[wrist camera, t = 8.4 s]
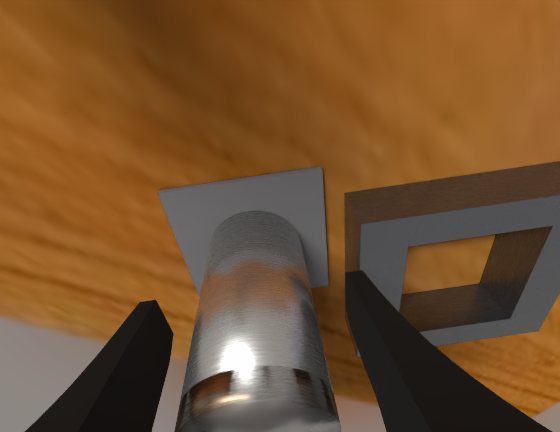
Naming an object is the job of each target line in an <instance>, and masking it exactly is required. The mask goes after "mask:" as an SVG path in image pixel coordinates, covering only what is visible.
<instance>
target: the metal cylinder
mask: <svg viewBox="0 0 560 432" xmlns="http://www.w3.org/2000/svg"><path fill="white" fill-rule="evenodd" d="M175 432H341V426H340V421H339V417H338V413H337V407H336V403H335V398H334V394H333V389H332V384H331V380H330V375H329V371H328V366H327V361H326V357H325V352H324V348H323V343H322V338H321V334H320V329H319V324H318V320H317V315H316V311H315V306H314V301H313V297H312V292H311V288H310V283H309V278H308V274H307V269H306V265H305V260H304V255H303V251H302V246H301V242H300V237H299V235H298V232H297V231H296V229H295V228H294V226H293V225H292V224H291V223H290V222H289V221H288V220H286V219H285V218H283V217H281V216H279V215H277V214H274V213H271V212H267V211H246V212H241V213H238V214H235V215H233V216H231V217H229V218H227V219H226V220H224V221H223V222H222V223H221V224H220V225H219V226H218V227H217V228H216V229H215V231H214V233H213V235H212V237H211V241H210V246H209V251H208V256H207V262H206V267H205V272H204V278H203V283H202V288H201V294H200V299H199V304H198V310H197V315H196V320H195V326H194V331H193V336H192V342H191V347H190V352H189V358H188V363H187V369H186V374H185V380H184V385H183V390H182V395H181V401H180V406H179V411H178V417H177V422H176V427H175Z"/></svg>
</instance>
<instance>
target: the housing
mask: <svg viewBox="0 0 560 432" xmlns="http://www.w3.org/2000/svg"><path fill="white" fill-rule="evenodd" d="M493 234H497V235H496V238H495V241H494V244H493V247H492V250H491V253H490V255H489V258H488V261H487V264H486V267H485V270H484V273H483V276H482V279H481V282H480V284H475V285H468V286H461V287H454V288H447V289H440V290H433V291H426V292H419V293H413V294H406V295H402V288H403V281H404V274H405V267H406V260H407V253H408V247H411V246H417V245H424V244H431V243H438V242H445V241H452V240H459V239H465V238H472V237H479V236H486V235H493ZM358 270H362V271H364V272H365V274H366V275H367V276H368V277H369V279H370V280H371V281H372V282H373V284H374V285H375V286H376V287H377V288H378V290H379V291H380V292H381V293H382V294H383V295H384V296H385V298H386V299H387V300H388V301H389V302H390V303H391V304H392V305H393V306H394V307H395V308H396V309H397V311H398V312H399V313H400V314H401V315H402V316H403V317H404V318H405V319H406V320H407V321H408V322H409V323H410V324H411V325H412V326H413V327H414V328H415V329H416V330H417V331H418V332H420V333H421V334H422V335H423V336H424V337H425V338H426V339H427V340H428V341H429V342H430V343H431V344H433V345H434V346H439V345H446V344H453V343H460V342H467V341H473V340H480V339H487V338H494V337H501V336H508V335H515V334H522V333H529V332H536V331H539V329H540V327H541V326H542V324H543V322H544V320H545V319H546V317H547V315H548V313H549V311H550V310H551V308H552V306H553V304H554V303H555V301H556V299H557V297H558V296H559V294H560V162H553V163H546V164H539V165H532V166H526V167H519V168H512V169H505V170H499V171H492V172H485V173H478V174H471V175H465V176H458V177H451V178H444V179H438V180H431V181H424V182H417V183H411V184H404V185H397V186H390V187H383V188H377V189H370V190H363V191H356V192H350V193H345V272H352V271H358ZM345 296H346V292H345ZM346 322H347V325H348V328H349V332H350V335H351V338H352V341H353V345H354V348H355V351H356V354H357V357H361V356H360V353H359V351H358V348H357V345H356V343H355V340H354V337H353V335H352V331H351V327H350V323H349V320H348V316H347V312H346Z"/></svg>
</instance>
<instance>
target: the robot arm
mask: <svg viewBox="0 0 560 432" xmlns="http://www.w3.org/2000/svg"><path fill="white" fill-rule="evenodd" d="M345 292H346V312H347V316H348V320H349V323H350V327H351V331H352V335H353V337H354V340H355V343H356V345H357V348H358V351H359V353H360V356H361V358H362V361H363V364H364V366H365V369H366V372H367V374H368V377H369V379H370V382H371V385H372V387H373V390H374V393H375V395H376V398H377V401H378V404H379V407H380V410H381V414H382V417H383V421H384V424H385V428H386V431H387V432H552V431H550V430H549V429H547V428H546V427H544V426H542V425H541V424H539V423H537V422H536V421H534V420H533V419H531V418H530V417H528V416H527V415H525V414H524V413H522V412H521V411H520V410H518V409H517V408H515V407H514V406H512V405H511V404H509V403H508V402H506V401H505V400H503V399H502V398H501V397H499V396H498V395H496V394H495V393H494V392H492V391H491V390H490V389H488V388H487V387H485V386H484V385H483V384H481V383H480V382H479V381H477V380H476V379H474V378H473V377H472V376H470V375H469V374H468V373H466V372H465V371H464V370H463V369H461V368H460V367H459V366H458V365H456V364H455V363H454V362H453V361H451V360H450V359H449V358H448V357H447V356H445V355H444V354H443V353H442V352H441V351H439V350H438V349H437V348H436V347H435V346H434V345H433V344H431V343H430V342H429V341H428V340H427V339H426V338H425V337H424V336H423V335H422V334H421V333H420V332H418V331H417V330H416V329H415V328H414V327H413V326H412V325H411V324H410V323H409V322H408V321H407V320H406V319H405V318H404V317H403V316H402V315H401V314H400V313H399V312H398V311H397V309H396V308H395V307H394V306H393V305H392V304H391V303H390V302H389V301H388V300H387V299H386V298H385V296H384V295H383V294H382V293H381V292H380V291H379V290H378V288H377V287H376V286H375V285H374V284H373V282H372V281H371V280H370V279H369V277H368V276H367V275H366V274H365V272H364V271H362V270H358V271H352V272H345ZM172 341H173V332H172V330H171V328H170V326H169V324H168V322H167V320H166V318H165V316H164V314H163V313H162V311H161V309H160V307H159V305H158V303H157V301H156V300H152V301H145V302H140V303H139V304H138V305H137V306H136V308H135V309H134V310H133V311H132V313H131V314H130V315H129V316H128V318H127V319H126V320H125V321H124V323H123V324H122V325H121V327H120V328H119V329H118V330H117V332H116V333H115V334H114V335H113V337H112V338H111V339H110V340H109V341H108V343H107V344H106V345H105V346H104V348H103V349H102V350H101V351H100V353H99V354H98V355H97V356H96V357H95V359H94V360H93V361H92V362H91V363H90V364H89V365H88V366H87V368H86V369H85V370H84V371H83V372H82V373H81V375H80V376H79V377H78V378H77V379H76V380H75V381H74V382H73V384H72V385H71V386H70V387H69V388H68V389H67V390H66V391H65V392H64V393H63V394H62V395H61V396H60V397H59V398H58V400H57V401H56V402H55V403H54V404H53V405H52V406H51V407H50V408H49V409H48V410H47V411H46V412H45V413H44V414H43V415H42V416H41V417H40V418H39V419H38V420H37V421H36V422H35V423H34V424H32V425H31V426H30V427H29V428H28V429H27V430H26V431H25V432H152V427H153V423H154V419H155V416H156V412H157V408H158V404H159V401H160V397H161V392H162V389H163V385H164V382H165V378H166V374H167V370H168V366H169V362H170V356H171V349H172Z"/></svg>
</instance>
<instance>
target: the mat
mask: <svg viewBox="0 0 560 432" xmlns="http://www.w3.org/2000/svg"><path fill="white" fill-rule="evenodd" d="M158 195H159V197H160V200H161V202H162V205H163V207H164V210H165V212H166V215H167V217H168V220H169V222H170V225H171V227H172V230H173V232H174V235H175V237H176V240H177V242H178V245H179V247H180V250H181V252H182V255H183V257H184V260H185V262H186V265H187V267H188V270H189V272H190V275H191V277H192V280H193V282H194V284H195V287H196V289H197V292H198V294H199V297H200V294H201V288H202V283H203V278H204V272H205V267H206V262H207V256H208V251H209V246H210V241H211V237H212V235H213V233H214V231H215V229H216V228H217V227H218V226H219V225H220V224H221V223H222V222H223V221H224V220H226V219H227V218H229V217H231V216H233V215H235V214H238V213H241V212H246V211H267V212H271V213H274V214H277V215H279V216H281V217H283V218H285V219H286V220H288V221H289V222H290V223H291V224H292V225H293V226H294V228H295V229H296V231H297V232H298V235H299V237H300V242H301V246H302V251H303V255H304V260H305V265H306V269H307V274H308V278H309V283H310V288H317V287H324V286H329V283H328V264H327V245H326V226H325V207H324V188H323V169H322V167H321V166H319V167H312V168H306V169H299V170H292V171H285V172H279V173H272V174H265V175H259V176H252V177H245V178H238V179H232V180H225V181H218V182H211V183H205V184H198V185H191V186H184V187H178V188H171V189H164V190H160V191H159V192H158Z"/></svg>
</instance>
